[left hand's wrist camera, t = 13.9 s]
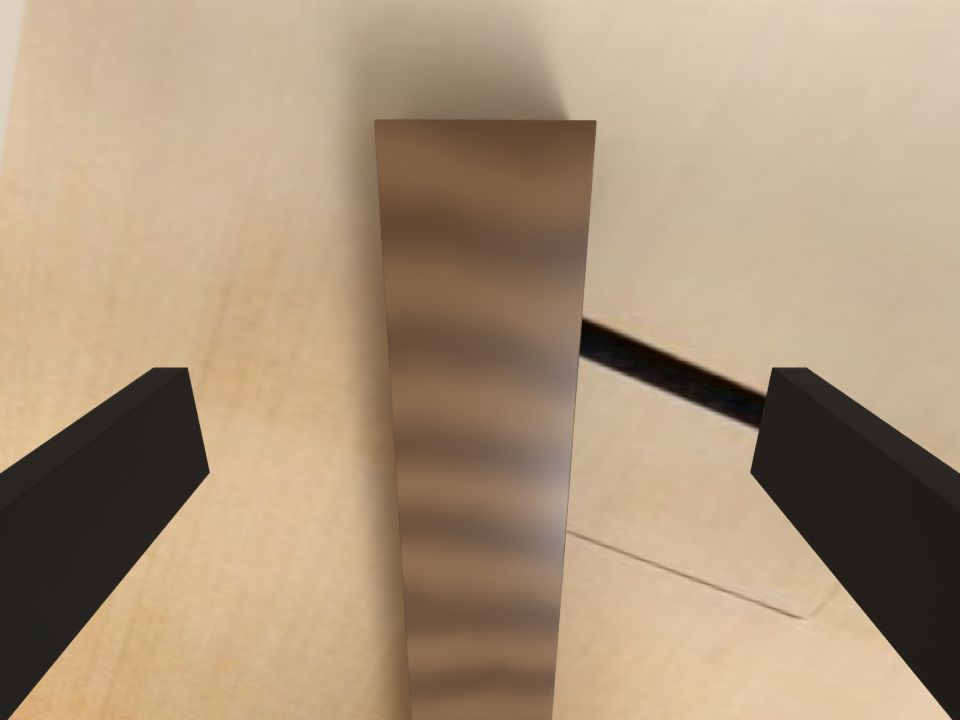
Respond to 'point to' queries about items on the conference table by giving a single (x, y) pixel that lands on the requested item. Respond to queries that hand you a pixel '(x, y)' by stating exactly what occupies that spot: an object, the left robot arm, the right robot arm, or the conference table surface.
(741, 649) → the conference table surface
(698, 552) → the conference table surface
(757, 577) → the conference table surface
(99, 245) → the conference table surface
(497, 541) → the thick board
